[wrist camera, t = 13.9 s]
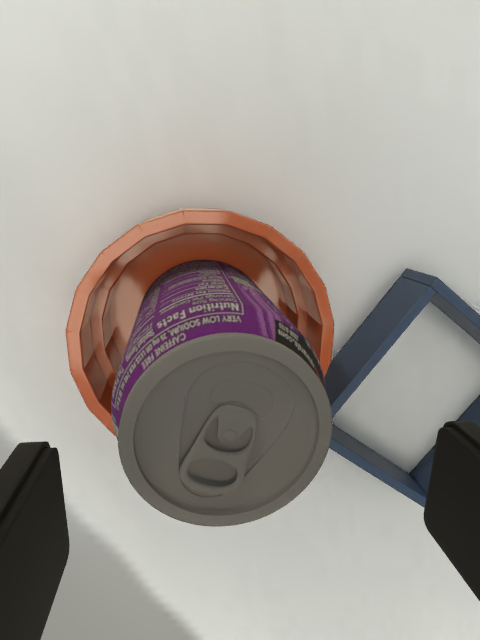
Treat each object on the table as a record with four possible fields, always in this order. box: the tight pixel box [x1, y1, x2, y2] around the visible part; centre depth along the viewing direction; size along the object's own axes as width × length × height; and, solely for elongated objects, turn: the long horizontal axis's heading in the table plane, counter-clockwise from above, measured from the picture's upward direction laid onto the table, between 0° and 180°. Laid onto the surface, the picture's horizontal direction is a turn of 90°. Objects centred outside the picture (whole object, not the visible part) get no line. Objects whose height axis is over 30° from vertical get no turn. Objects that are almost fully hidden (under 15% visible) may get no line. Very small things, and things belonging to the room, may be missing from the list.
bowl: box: [66, 208, 334, 436], centre depth 21 cm, size 12×12×5 cm
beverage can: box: [111, 260, 332, 526], centre depth 17 cm, size 7×7×12 cm
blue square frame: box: [324, 269, 480, 508], centre depth 25 cm, size 11×11×3 cm
